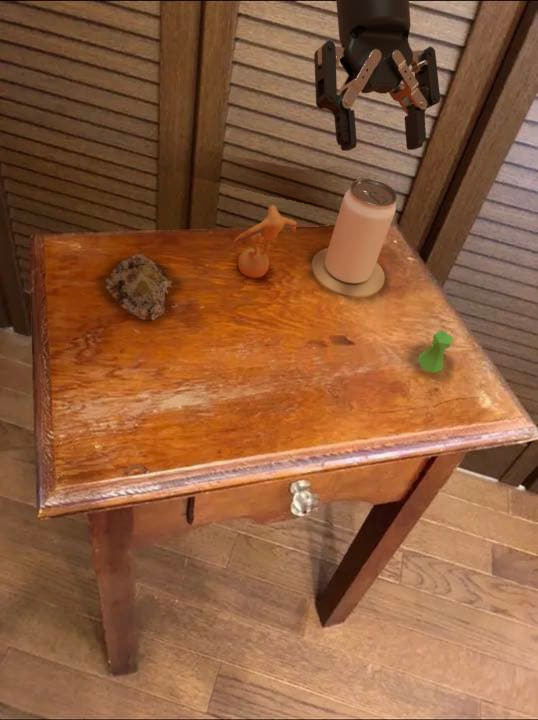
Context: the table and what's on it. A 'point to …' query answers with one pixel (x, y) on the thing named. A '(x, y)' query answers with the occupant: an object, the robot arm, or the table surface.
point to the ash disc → (343, 288)
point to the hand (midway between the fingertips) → (383, 148)
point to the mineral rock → (140, 287)
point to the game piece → (435, 352)
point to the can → (360, 230)
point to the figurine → (255, 259)
